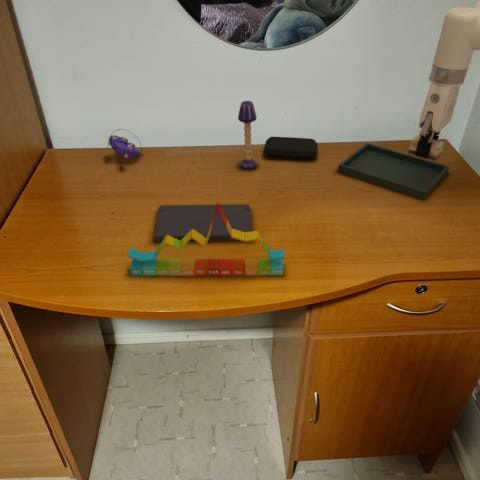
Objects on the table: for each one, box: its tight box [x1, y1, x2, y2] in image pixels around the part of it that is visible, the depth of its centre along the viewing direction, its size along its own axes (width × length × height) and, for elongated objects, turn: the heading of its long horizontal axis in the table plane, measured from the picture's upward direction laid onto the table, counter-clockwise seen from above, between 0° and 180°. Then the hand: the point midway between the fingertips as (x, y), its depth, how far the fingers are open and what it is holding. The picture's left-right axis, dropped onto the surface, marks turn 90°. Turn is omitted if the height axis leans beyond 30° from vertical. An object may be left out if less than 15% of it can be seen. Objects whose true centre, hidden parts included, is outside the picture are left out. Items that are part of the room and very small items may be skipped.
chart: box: [127, 201, 285, 277], centre depth 92 cm, size 30×3×15 cm, turn 90°
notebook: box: [153, 203, 253, 243], centre depth 109 cm, size 13×2×21 cm
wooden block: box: [407, 134, 445, 162], centre depth 118 cm, size 7×4×4 cm, turn 53°
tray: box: [337, 142, 450, 201], centre depth 126 cm, size 24×17×2 cm
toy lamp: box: [237, 100, 258, 171], centre depth 124 cm, size 5×5×17 cm
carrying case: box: [263, 136, 319, 161], centre depth 135 cm, size 11×3×15 cm
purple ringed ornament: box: [105, 128, 143, 171], centre depth 131 cm, size 10×8×10 cm
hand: (424, 152), depth 119 cm, fingers closed on wooden block, 3 cm apart
